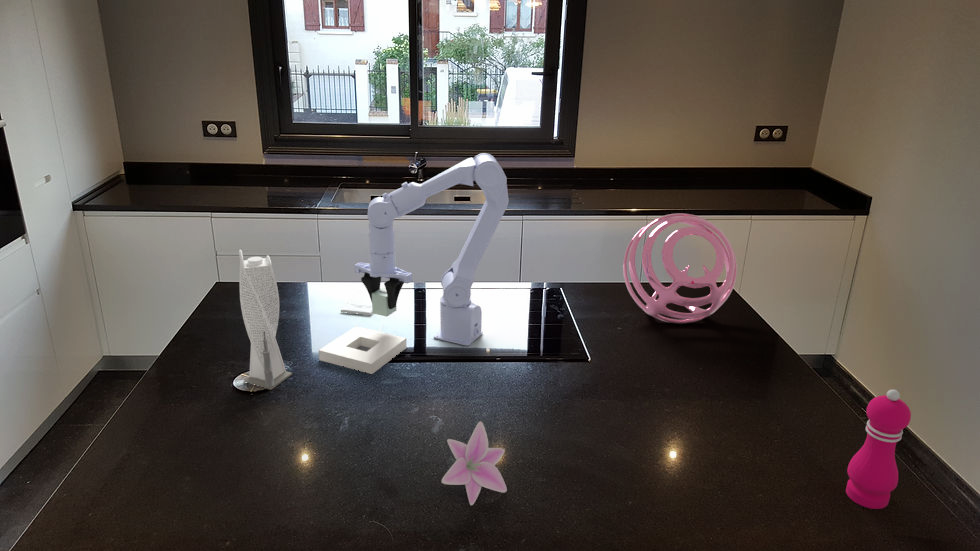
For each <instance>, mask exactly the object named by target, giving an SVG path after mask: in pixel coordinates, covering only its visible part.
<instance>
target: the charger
mask: <svg viewBox="0 0 980 551" xmlns="http://www.w3.org/2000/svg"><path fill="white" fill-rule="evenodd" d="M372 311H373V314H372V315H379V316H383V317H386V318H387V317H390V315H392V314H394V313H395V312H397V306H396V307H394V308H393V309H389V307H388V296H387V291H386V288H384V287H380V289H379V290H377V291H375V292H374V293H372Z"/></svg>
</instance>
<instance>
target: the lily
mask: <svg viewBox="0 0 980 551" xmlns="http://www.w3.org/2000/svg"><path fill="white" fill-rule="evenodd" d="M446 441H447V444H448V446H449V449H450V451H451V453H452V454H453V456H454V458H455V460H456V461H455V462H454V463H453V464H452V465H451V467H450V468H449V469H448V470H447V472H445V474H444V476H443V477H442V478H441V483H442V484H443V485H451V486H452V485H453V486H454V485H455V486H456V485H459V486H461V485H464V486H465V489H466V494H467V499H468V503H469V505H470V506H473V505H474V504H475V503H476V500H477V499H478V497H479V495H480V493H481V489H482V488H483V487H484V488H486V489H489V490H492V491H495V492H499V493H506V492H507V491H508V488H507V485H506V483H505V480H504V478H503V476H502V474H501V472H500V471H499V469H498V468H497V467H496V464H497V463H498V462H500V460H501V459H502V457H503V455H504V454H505V452H506V450H505V448H501V447H489V439H488V434H487V431H486V428H485V425H484V423H483V422H482V421H478V423H477V424H476V426H475V428H474V430H473V431H472V434H471V436H470V438H469V440H468V441H467V443H465V442H462V441H458V440H455V439H451V438H448V439H447V440H446Z"/></svg>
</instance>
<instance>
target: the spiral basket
mask: <svg viewBox="0 0 980 551" xmlns="http://www.w3.org/2000/svg"><path fill="white" fill-rule="evenodd" d="M678 223H679V224H685V225H687V226H686V227H685V226H684V227H681V228H679V229H677V230H675V231H673V232H672V233H671V234H670V235H668V236H667V238H666V240H665V241H664V243H663V246H662V251H661V260H662V265H663V267H664V270H665V272H666V273H667V275H668V276H669V277H670V278H671V279H672V283H671V284H670V286H665V285H663V284H662V282H661V281H660V279H659V277H658V276H657V275H656V273H655V271H654V268H653V263H652V250H653V247H654V243H655V242H656V240H657V238H658V236H659V235H660V234H661V233H662V232H663V231H664V230H665V229H667V228H668V227H670V226H672V225H675V224H678ZM655 226H656V227H655ZM652 227H654V229H652V231H651V232H650V233H649V234H648V235H647V237H646V239H645V242H644V244H643V248H642V253H641V260H642V261H641V262H642V269H643V272H644V276H645V278H646V280H647V281H648V283H649V285H650V286H651V287H652V289H653V290H654V293H653V294H652V296H650V295H649V294H648V293H647V291H646V290H645V289H644V288H643V286H642V284H641V281H640V279H639V278H638V277H639V276H638V274H637V267H636V254H637V250H638V246H639V243H640V241H641V239H642V237H643V236H644V234H646V233H647V231H648V230H649V229H650V228H652ZM687 236H697V237H701V238H704V239H705V240H707V242H709V243H710V245H711V246H712V247H713V249H714V251H715V257H716V261H715V265H714V266H713V268H712V270H710V269H708V268H707V267H706V265H705V264H702V269H703V272H704V275H703V276H699V277H695V276H694V277H693V276H690V275H688V271H689V269H690V267H691V265H690V264H688V265H687V266H686V267H685V268H684V269H683V270H680V269H679V268H678V267H677V265H676V263H675V260H674V257H673V256H674V255H673V254H674V249H675V246H676V244H677V243H678V241H680V240H681V239H682V238H684V237H687ZM622 264H623V265H622V272H623V273H622V274H623V280H624V284H625V285H626V288H627V291H628V293H629V295H630V297H631V298H632V299H633V300H634V302H635V303H636V305H637V306H638V307H639V308H640V309H642V311H644V312H645V314H647V315H648V316H650V317H653V318H655V319H657V320H660V321H662V322H666V323H669V324H670V323H673V324H690V323H694V322H697V321H700V320H703V319H706V318H707V317H709V316H711V315H714V313H715V312H716V311H717V310H718V309H719V308H721V306H723V304H724V303H725V302H726V301H727V300H728V298H730V295H731V293H732V291H733V289H734V288H735V284H736V280H737V275H738V274H737V273H738V265H737V257H736V254H735V251H734V249H733V247H732V244H731V242H730V241H729V239H728V237H727V236H726V235H725V234H724V232H723V231H721V229H720V228H718V227H717V226H716V225H715V224H714V223H712V222H711V221H708V220H707V219H705V218H703V217H701V216H699V215H695V214H689V213H682V212H681V213H679V212H678V213H671V214H669V213H668V214H665V215H662V216H660V217H657V218H655V219H653V220H651V221H650V222H649V223H647V224H646V225H645V226H643V227H641V228H640V229H639V230H638V231H637V232H636V233H635V235H633V236H632V238H631V239H630V242H628V245H627V247H626V250H625V253H624V257H623V262H622ZM724 266H725V279H724V281H723V283H722V284H721V285H720V286H719V287H718V285H717V280H718V278H719V277H720V276H721V274H722V272H723V270H724ZM628 270H629V272H628ZM628 273H629V274H628ZM629 275H630V279H629ZM630 280H631V282H632V285H633V287H634V289H635V290H636V292H637V294H638V295H639V296H640V297H641V299H642V300H643V301H644V303H646V304H644V303H643V302H642V301H641V300H640V299H639V298H638V296H637V295H636V293H635V292H634V290H633V287H632V285H631V283H630ZM681 286H684V287H687V288H692V289H700V288H705V287H709V288H710V293H709V294H708V295H705V296H701V297H693V298H692V297H684V296H681V295H679V294H678V293H677V290H678V289H679V288H680V287H681ZM657 296H658V298H657ZM656 298H657V299H656ZM668 304H675V305H678V306H681V307H684V308H686V309H687V310H688V311H689V312H681V311H680V312H679V311H674V310H672V309H669V308H668V307H667V305H668ZM709 304H711V306H709V307H708V308H706V309H704V308H700V307H702V306H705V305H706V306H707V305H709ZM663 315H664V316H663ZM665 316H667V317H665ZM669 317H671V318H669Z"/></svg>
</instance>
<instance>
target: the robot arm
mask: <svg viewBox="0 0 980 551" xmlns="http://www.w3.org/2000/svg"><path fill="white" fill-rule="evenodd" d="M507 179H508V178H507V176H506V174H505V172H504V170H503V168H502V166H501V165H500V164H499V162H498V160H497V158H495V157H494V156H493V155H492V154H490V153H486V152H482V153H479V154H477V155H475V156H474V157H469V158H466V159H464V160H462V161H460V162H459V163H457V164H454V165H453V166H451V167H450V168H448V169H445V170H444V171H442V172H441V173H438V174H437V175H435V176H433V177H431V178H429V179H427V180H426V181H424V182H422V183H417V182H415V181H412V182H409V183H408V182H407V181H405V182H403V183H401V187H400V188H397V189H395V190H393V191H391V192H389V193H387V192H385V193H382V197H381V196H378V197H374V198H373V199H372V200H371V201H370V202H369V204H368V207H367V220H368V221H369V223H368V228H369V231H368V249H369V262H368V263H367V262H366V263H365V262H361V261H360V262H358V263H356V264H354V273H355V274H360V273H361V274H364V275H363V276H362V277H361V278H360V279H361V283H363V286H364V287H365V288H366V291H367V293H369V296H370V298H371V302H372V293H374V292H375V291H377V290H379V289H380V288H381V282H382V281H381V280H382V278H385V279H389V280H387V281H385V282H384V283H383V284H384V287H385V289H386V291H387V296H388V307H389V309H393V308H394V307H396V308H397V303H398V298H399V295H400V292H401V290H402V288H403V286H404V284H409V283H411V282H413V273H412V272H408V271H406V270H404V269H401V268H399V267H397V266H396V248H395V244H396V242H395V239H396V238H395V230H394V227H393V226H394V221H395V219H396V218H401V217H403V216H405V215H407V214H409V213H411V212H413V211H416V210H417V209H419V208H421V207H423V206H425V203H426V201H427V198H429V197H431V196H434V195H436V194H438V193H441V192H443V191H445V190H448V189H450V188H452V187H454V186H456V185H459V184H461V185H465V186H471V187H474V182H475V183H476V184H477V186H478V187H479V188H480V189H481V191H482V193H483V195H484V199H485V200H484V202H483V205H482V206H481V209H480V211H479V214H477V217H476V219H475V221H474V224H473V225H472V228H471V230H470V232H469V233H468V236H467V238H466V240H465V242H464V245H463V246H462V249H461V251H460V252H459V255H458V257H457V258H456V260H455V261H453V262H452V264H451V266H450V267H449V269H447V270H446V271H445V272H444V273H443V274H442V276H441V278H440V285H441V288H442V292H443V293H442V296H441V298H440V302H439V303H440V305H439V306H440V310H439V311H440V313H439V314H440V330H439V331H438V332H437V333H435V334H434V335H433V339H437V340H439V341H445V342H448V343H449V342H450V343H454V344H456V345H457V344H458V345H462V346H468V347H469V346H471V345H472V343H473V342H474V341H476V340H477V339H478V338H480V336H481V335H482V334H483V331H482V317H483V316H482V307H481V306H480V305H478V304H475V303H474V302H472V299H471V295H472V293H471V292H472V290H471V289H472V286H473V284H474V280H475V276H476V271H477V269H478V266H479V264H480V263H481V260H482V258H483V256H484V254H485V253H486V250H487V248H488V247H489V244H490V242H491V240H492V238H493V236H494V234H495V233H496V232H495V231H496V230H497V227H498V226H499V224H500V221H501V220H502V218H503V216H504V214H505V211H506V209H507V208H508V205H509V203H510V200H509V193H508V184H507V182H508V181H507Z"/></svg>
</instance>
